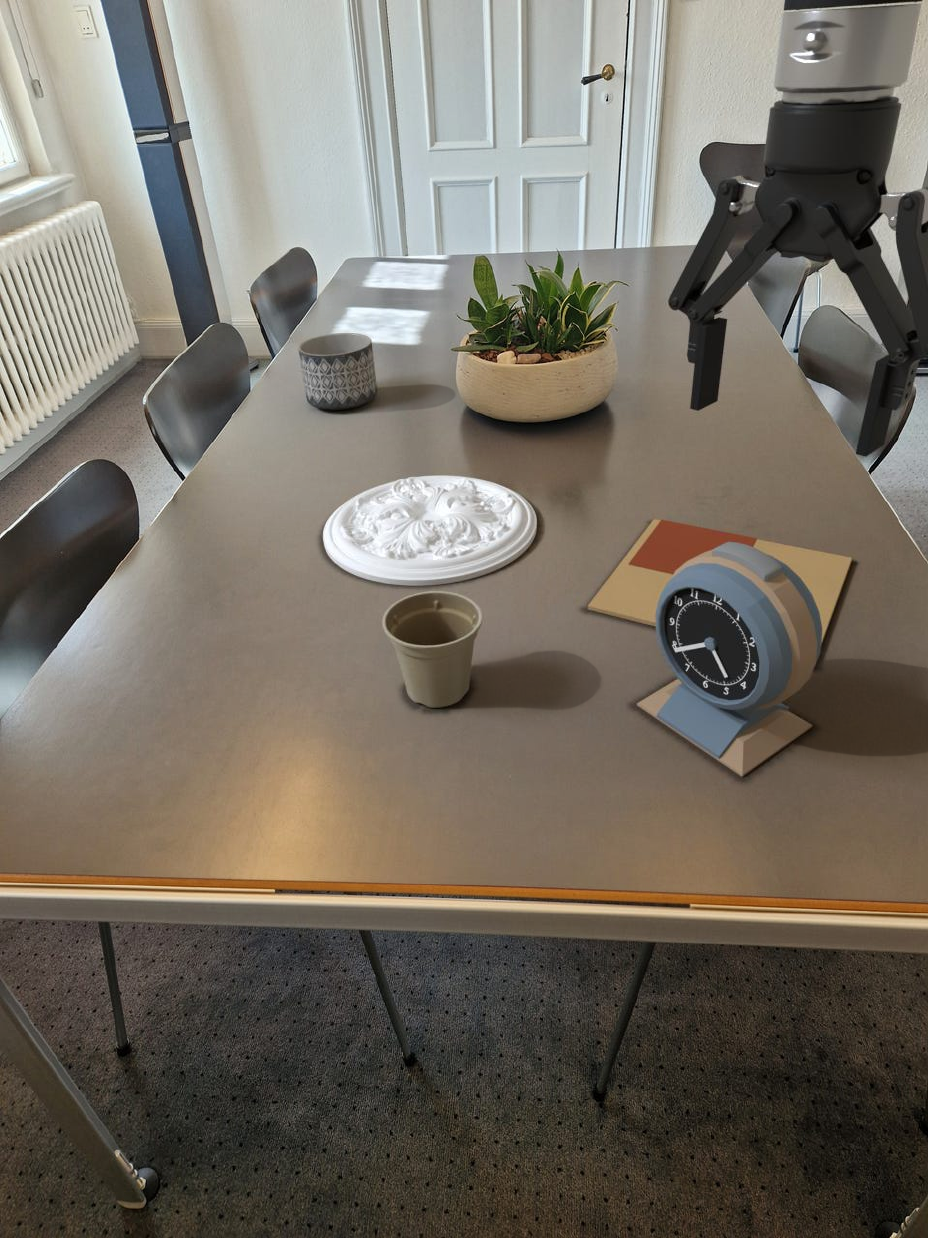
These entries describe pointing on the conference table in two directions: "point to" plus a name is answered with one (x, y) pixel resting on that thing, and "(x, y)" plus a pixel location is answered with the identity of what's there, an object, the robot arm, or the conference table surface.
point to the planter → (338, 370)
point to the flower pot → (434, 644)
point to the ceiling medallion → (430, 530)
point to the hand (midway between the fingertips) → (781, 426)
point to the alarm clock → (735, 653)
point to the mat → (676, 543)
